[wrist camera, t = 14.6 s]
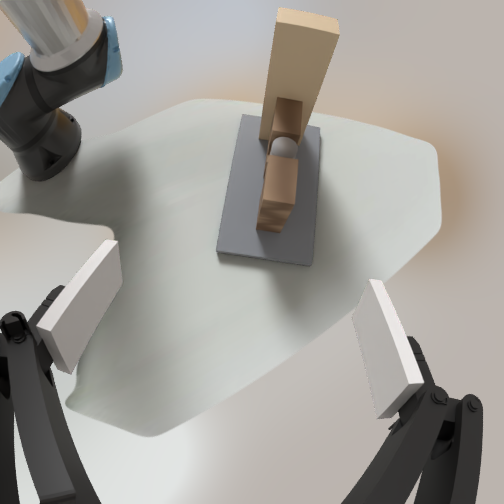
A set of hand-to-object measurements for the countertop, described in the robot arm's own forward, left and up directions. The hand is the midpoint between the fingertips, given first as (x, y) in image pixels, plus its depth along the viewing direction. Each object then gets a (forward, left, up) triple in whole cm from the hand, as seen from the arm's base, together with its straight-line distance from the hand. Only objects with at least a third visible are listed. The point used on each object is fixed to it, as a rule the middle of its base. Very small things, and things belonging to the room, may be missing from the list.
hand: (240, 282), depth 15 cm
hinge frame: (+3, +20, -28) cm, 34 cm away
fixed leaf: (+3, +23, -26) cm, 35 cm away
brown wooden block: (+3, +16, -26) cm, 31 cm away
